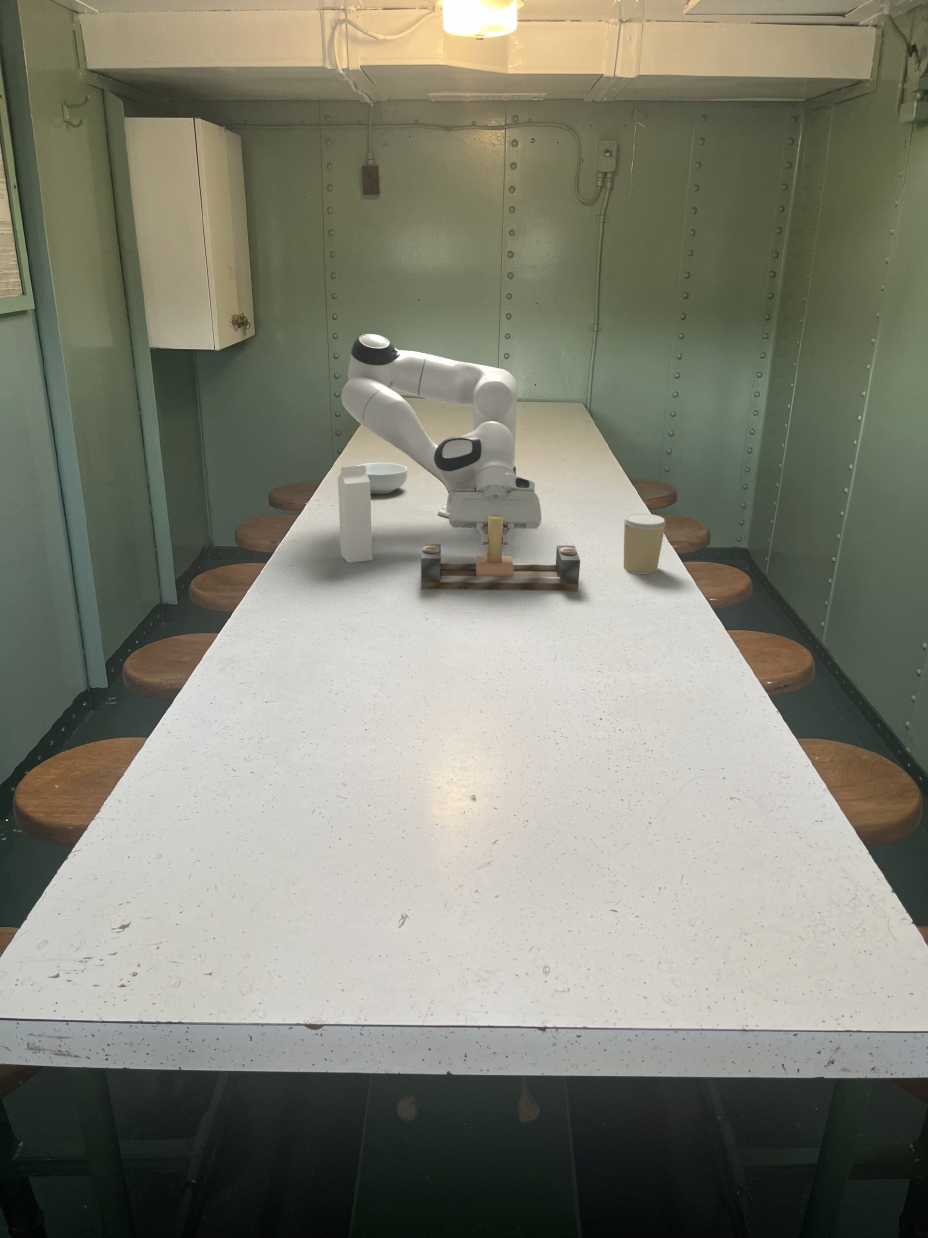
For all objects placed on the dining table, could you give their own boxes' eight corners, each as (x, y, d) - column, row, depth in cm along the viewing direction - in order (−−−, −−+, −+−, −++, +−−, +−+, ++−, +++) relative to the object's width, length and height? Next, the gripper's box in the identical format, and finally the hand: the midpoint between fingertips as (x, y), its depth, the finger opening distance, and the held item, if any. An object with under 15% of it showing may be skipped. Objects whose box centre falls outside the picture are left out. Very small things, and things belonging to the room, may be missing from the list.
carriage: (476, 579, 191) (477, 521, 186) (475, 568, 197) (476, 512, 192) (512, 579, 191) (515, 522, 186) (511, 568, 197) (513, 512, 192)
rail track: (421, 588, 190) (421, 554, 187) (423, 573, 199) (422, 540, 196) (578, 590, 190) (580, 556, 187) (572, 574, 199) (574, 542, 196)
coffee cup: (663, 564, 207) (668, 515, 202) (657, 577, 199) (663, 526, 194) (623, 559, 210) (627, 511, 205) (616, 572, 201) (621, 521, 197)
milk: (372, 560, 207) (370, 468, 198) (347, 563, 205) (344, 470, 196) (364, 552, 212) (362, 462, 203) (340, 555, 210) (337, 464, 201)
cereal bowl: (411, 485, 273) (411, 462, 270) (402, 499, 258) (402, 475, 255) (357, 483, 274) (356, 460, 272) (345, 496, 259) (344, 473, 256)
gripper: (448, 480, 193) (447, 536, 188) (541, 481, 193) (542, 537, 188) (448, 494, 199) (447, 549, 193) (538, 496, 199) (540, 551, 193)
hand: (495, 543), depth 191 cm, fingers closed on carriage, 3 cm apart
